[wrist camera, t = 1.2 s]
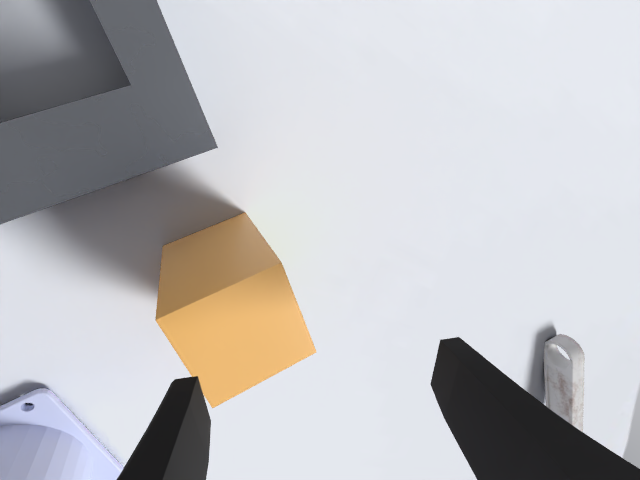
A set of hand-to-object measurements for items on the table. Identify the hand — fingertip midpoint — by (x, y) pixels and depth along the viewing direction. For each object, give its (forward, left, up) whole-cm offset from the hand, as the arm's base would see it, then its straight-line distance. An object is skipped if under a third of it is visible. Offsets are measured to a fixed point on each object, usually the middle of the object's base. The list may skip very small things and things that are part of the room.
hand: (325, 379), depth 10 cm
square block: (-2, 0, -10) cm, 10 cm away
